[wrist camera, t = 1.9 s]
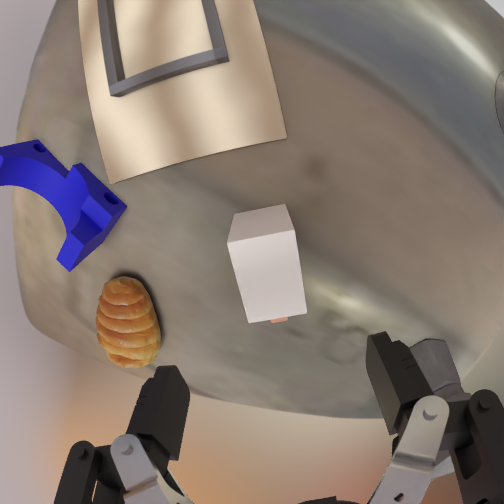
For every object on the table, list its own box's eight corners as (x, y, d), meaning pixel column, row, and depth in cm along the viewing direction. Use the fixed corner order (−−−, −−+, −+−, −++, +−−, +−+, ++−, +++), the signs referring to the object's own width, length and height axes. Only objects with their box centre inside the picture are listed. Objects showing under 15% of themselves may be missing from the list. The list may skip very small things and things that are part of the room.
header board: (231, -61, 12) (229, -75, 9) (285, 137, 20) (289, 138, 17) (83, -7, 13) (69, -15, 11) (115, 182, 21) (101, 188, 19)
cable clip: (128, 205, 22) (92, 230, 17) (103, 241, 23) (69, 272, 18) (46, 126, 19) (1, 132, 13) (27, 164, 20) (-14, 177, 15)
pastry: (97, 265, 24) (77, 285, 20) (162, 278, 24) (147, 302, 21) (109, 339, 28) (95, 362, 24) (165, 353, 28) (155, 379, 24)
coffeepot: (441, 313, 26) (520, 435, 10) (466, 341, 28) (526, 439, 12) (346, 394, 31) (375, 520, 15) (384, 410, 33) (415, 512, 17)
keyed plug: (284, 203, 22) (294, 229, 16) (298, 282, 24) (308, 325, 19) (234, 213, 22) (226, 242, 17) (253, 290, 25) (252, 335, 19)
